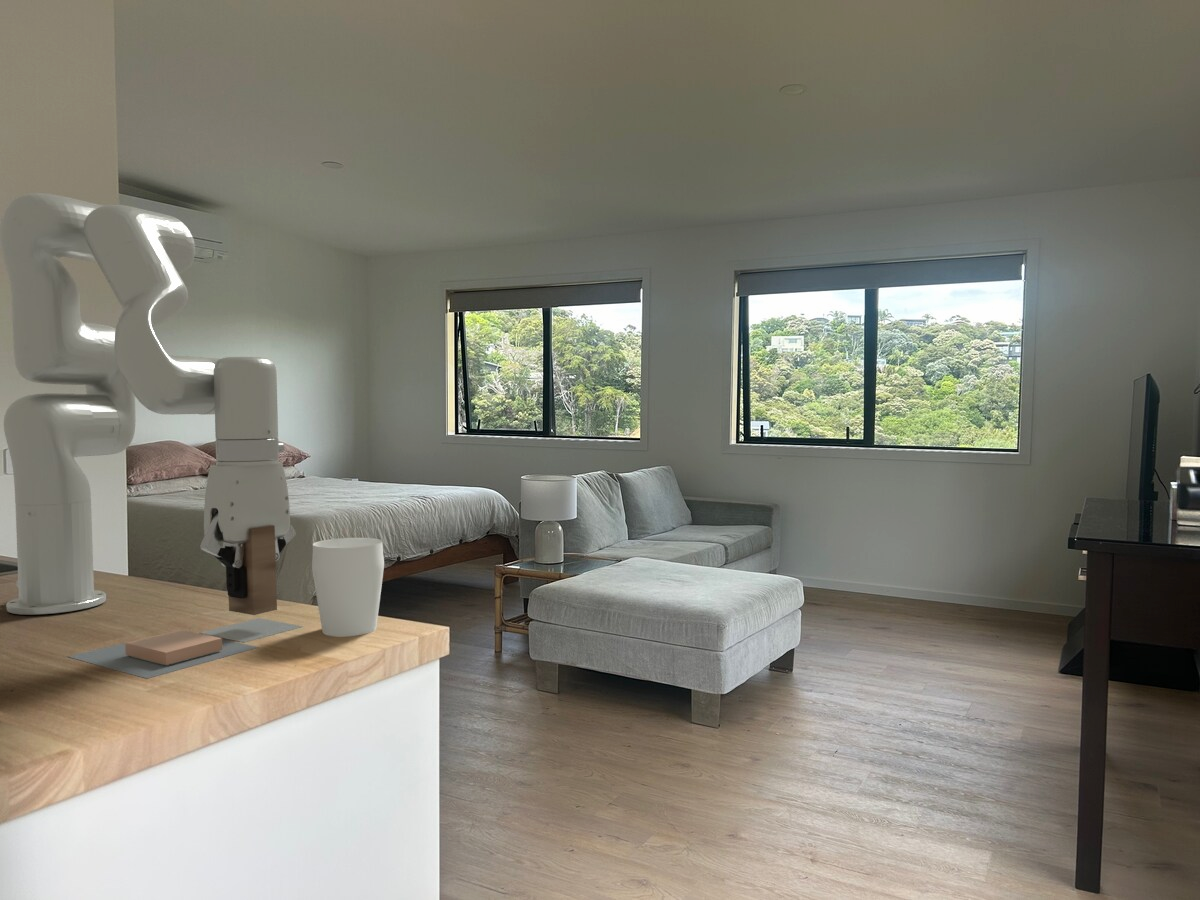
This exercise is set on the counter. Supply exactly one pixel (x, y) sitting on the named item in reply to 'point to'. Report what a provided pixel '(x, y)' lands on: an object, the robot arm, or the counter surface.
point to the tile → (173, 647)
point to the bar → (258, 573)
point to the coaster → (251, 630)
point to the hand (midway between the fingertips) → (251, 592)
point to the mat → (124, 663)
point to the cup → (348, 584)
